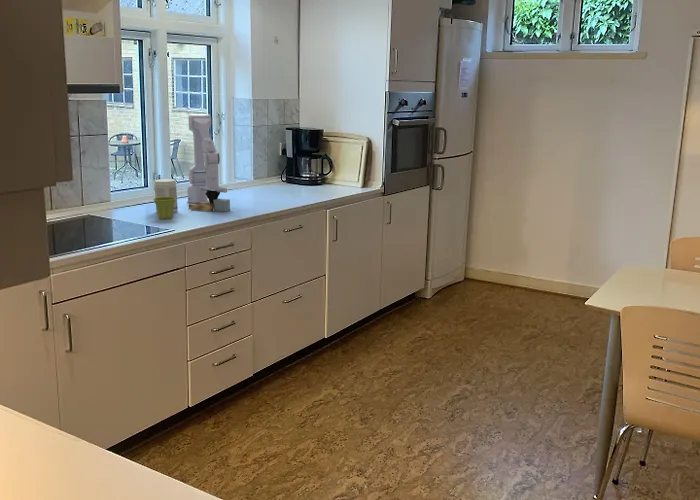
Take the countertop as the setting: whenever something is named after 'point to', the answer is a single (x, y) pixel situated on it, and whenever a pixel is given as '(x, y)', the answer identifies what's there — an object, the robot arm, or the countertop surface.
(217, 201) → the block
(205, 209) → the chute
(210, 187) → the robot arm
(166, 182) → the supplement tub
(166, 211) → the plant pot
